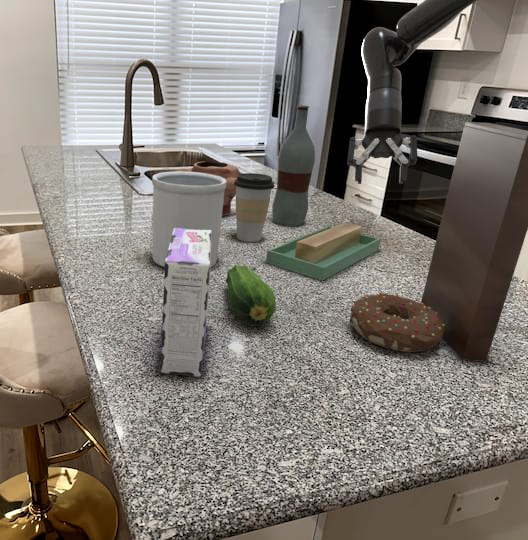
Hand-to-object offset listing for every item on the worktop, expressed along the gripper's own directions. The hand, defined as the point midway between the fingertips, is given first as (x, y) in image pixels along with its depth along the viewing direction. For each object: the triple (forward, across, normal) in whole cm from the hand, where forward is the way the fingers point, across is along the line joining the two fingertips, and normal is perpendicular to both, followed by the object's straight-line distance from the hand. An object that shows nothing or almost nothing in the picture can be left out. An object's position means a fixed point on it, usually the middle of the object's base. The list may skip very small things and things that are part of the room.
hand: (380, 182), depth 113 cm
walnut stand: (+34, +10, -24) cm, 43 cm away
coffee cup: (+12, -29, +4) cm, 32 cm away
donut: (+36, +1, -28) cm, 45 cm away
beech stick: (+15, -10, +2) cm, 18 cm away
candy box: (+41, -28, -44) cm, 66 cm away
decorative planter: (+2, -44, +18) cm, 48 cm away
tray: (+17, -11, 0) cm, 20 cm away
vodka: (+4, -22, +21) cm, 30 cm away
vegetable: (+32, -23, -28) cm, 48 cm away
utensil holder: (+22, -39, -14) cm, 47 cm away
